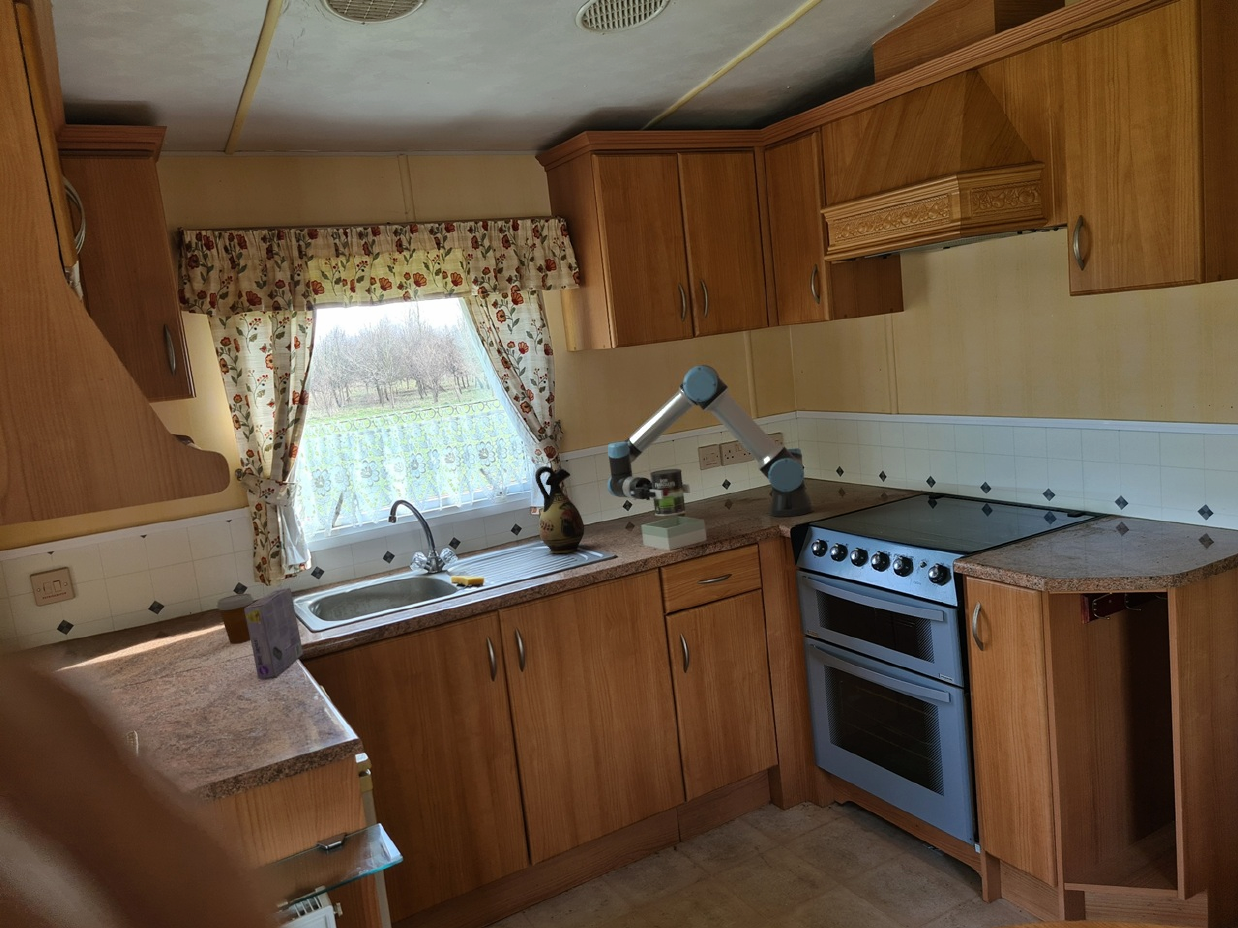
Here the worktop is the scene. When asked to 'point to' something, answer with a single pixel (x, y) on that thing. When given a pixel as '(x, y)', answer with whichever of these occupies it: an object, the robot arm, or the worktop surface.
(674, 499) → the coffee can
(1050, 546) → the worktop surface
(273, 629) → the cake pan box
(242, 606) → the disposable coffee cup
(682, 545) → the open rectangular storage box
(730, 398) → the robot arm
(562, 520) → the ceramic jug
